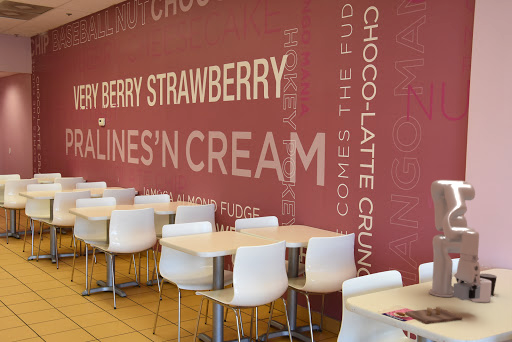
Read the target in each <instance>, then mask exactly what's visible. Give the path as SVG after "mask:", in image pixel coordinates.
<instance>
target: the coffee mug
mask: <svg viewBox="0 0 512 342" xmlns="http://www.w3.org/2000/svg"><path fill="white" fill-rule="evenodd" d="M480 278H483V279H487V280H490V281H491V282H492V283H491V295H492V296H494V295H493V294H494V293H495V289H496V288H495V287H496V283H497V275H495V274H493V273H492V274H491V273H480Z"/></svg>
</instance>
